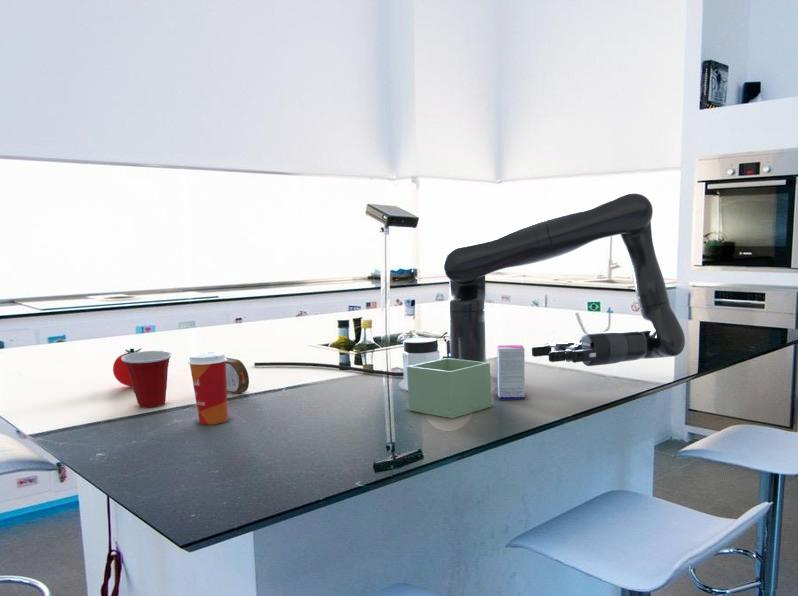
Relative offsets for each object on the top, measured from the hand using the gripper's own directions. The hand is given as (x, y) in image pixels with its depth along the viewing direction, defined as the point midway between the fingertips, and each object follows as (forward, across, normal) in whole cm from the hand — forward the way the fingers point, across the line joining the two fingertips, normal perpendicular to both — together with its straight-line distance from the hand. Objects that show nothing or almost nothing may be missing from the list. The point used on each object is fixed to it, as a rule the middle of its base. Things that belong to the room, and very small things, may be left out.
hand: (540, 354), depth 170 cm
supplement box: (+8, 0, +9) cm, 12 cm away
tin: (+66, -40, +9) cm, 78 cm away
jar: (+23, -18, +9) cm, 30 cm away
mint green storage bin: (+24, +4, +9) cm, 25 cm away
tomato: (+88, -61, +9) cm, 108 cm away
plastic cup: (+84, -33, +9) cm, 91 cm away
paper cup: (+71, -9, +9) cm, 72 cm away
